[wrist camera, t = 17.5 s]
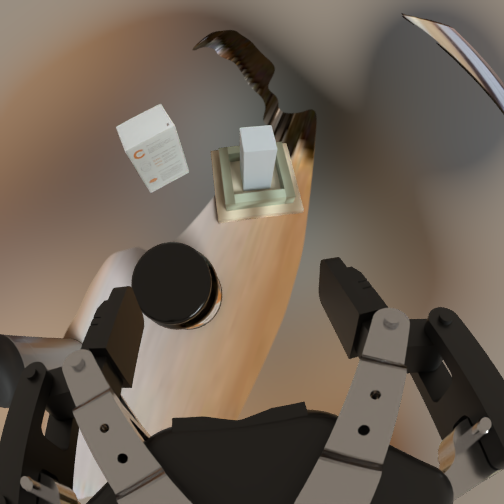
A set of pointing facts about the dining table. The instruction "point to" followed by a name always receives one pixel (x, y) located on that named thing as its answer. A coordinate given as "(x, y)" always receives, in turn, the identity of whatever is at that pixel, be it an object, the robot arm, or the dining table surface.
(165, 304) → the supplement container
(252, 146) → the block
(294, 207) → the cradle jig
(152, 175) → the small box
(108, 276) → the dining table surface
